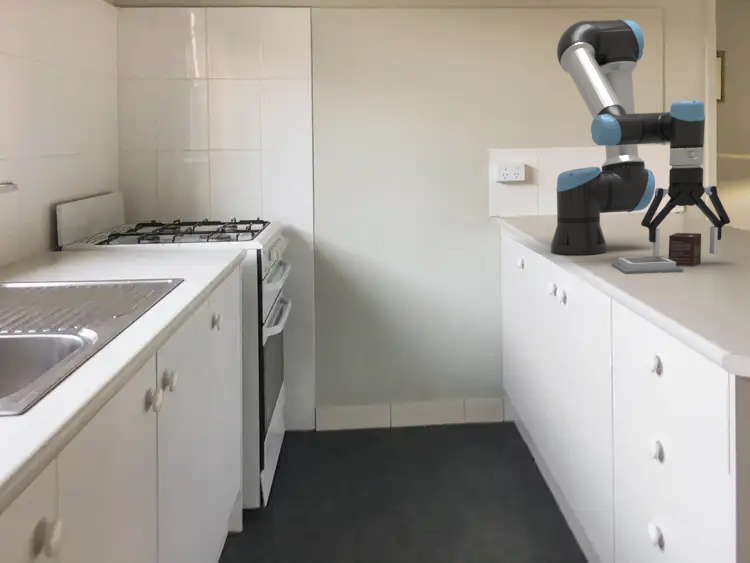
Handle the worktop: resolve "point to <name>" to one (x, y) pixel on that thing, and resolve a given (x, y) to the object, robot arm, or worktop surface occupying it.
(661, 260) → the grey and white frame
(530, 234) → the worktop surface
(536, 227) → the worktop surface
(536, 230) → the worktop surface
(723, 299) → the worktop surface
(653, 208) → the robot arm
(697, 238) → the box
